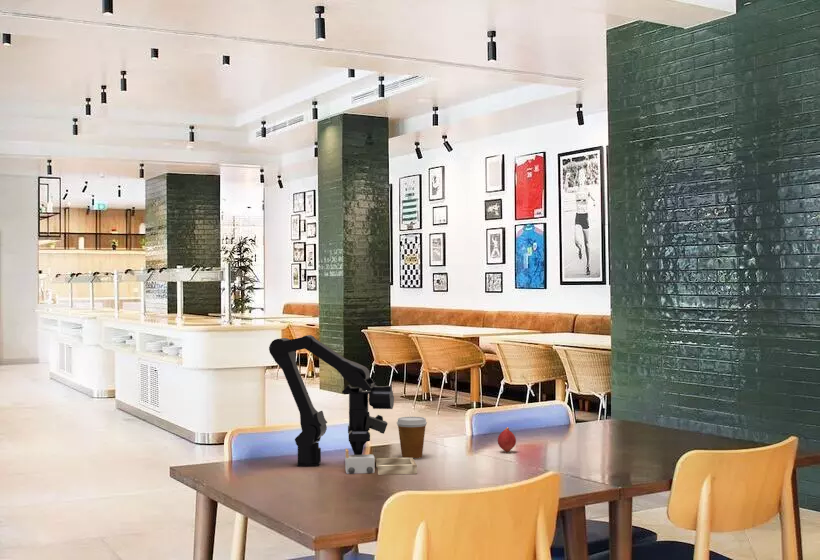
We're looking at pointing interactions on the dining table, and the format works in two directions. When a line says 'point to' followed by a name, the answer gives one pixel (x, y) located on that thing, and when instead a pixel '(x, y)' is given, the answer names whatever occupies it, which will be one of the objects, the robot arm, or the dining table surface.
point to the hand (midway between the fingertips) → (358, 461)
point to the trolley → (359, 463)
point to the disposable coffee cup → (411, 436)
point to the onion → (506, 440)
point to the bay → (396, 466)
